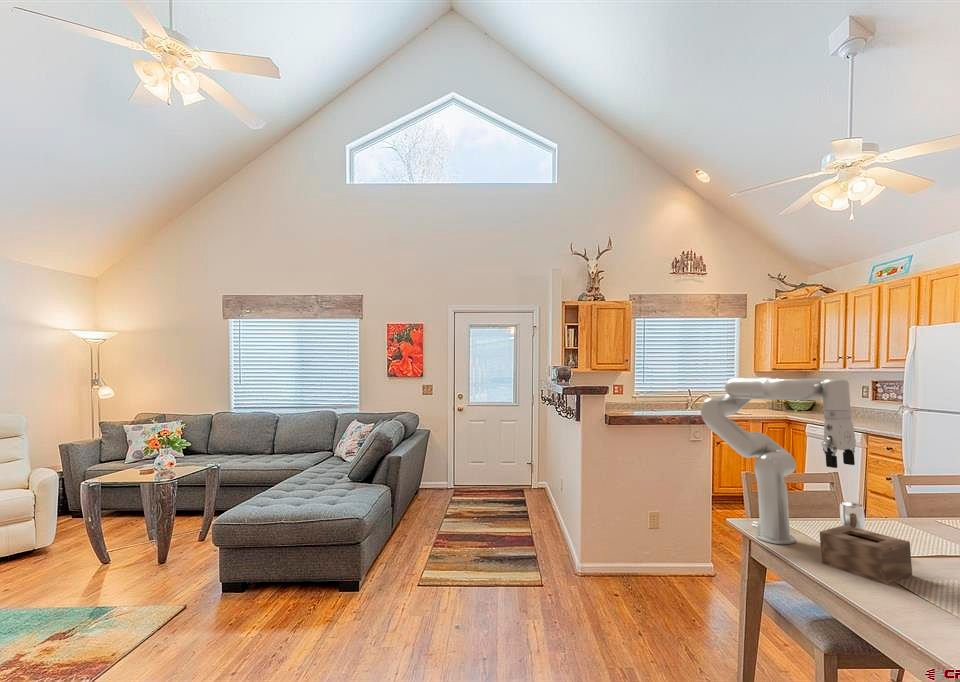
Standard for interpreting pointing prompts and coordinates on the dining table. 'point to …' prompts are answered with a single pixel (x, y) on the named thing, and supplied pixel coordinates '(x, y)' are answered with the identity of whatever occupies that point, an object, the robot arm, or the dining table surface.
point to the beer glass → (852, 514)
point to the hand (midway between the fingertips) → (840, 465)
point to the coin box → (866, 553)
